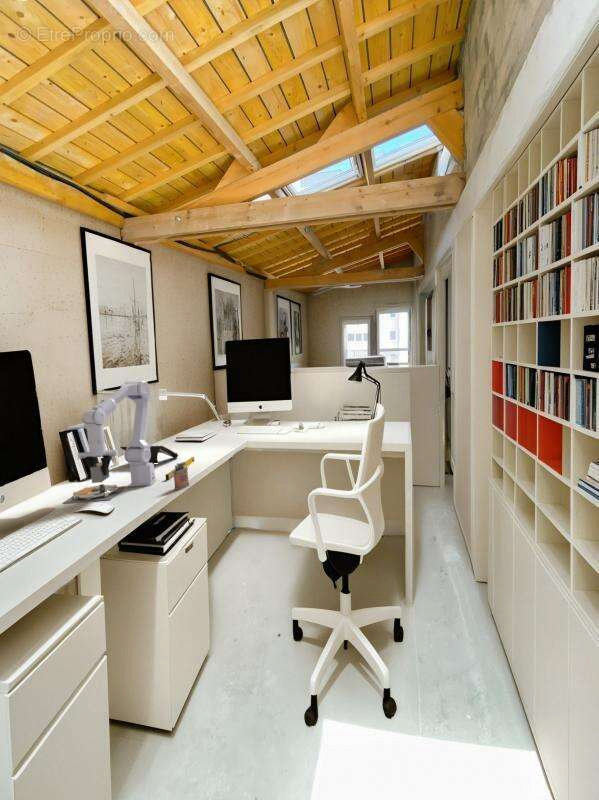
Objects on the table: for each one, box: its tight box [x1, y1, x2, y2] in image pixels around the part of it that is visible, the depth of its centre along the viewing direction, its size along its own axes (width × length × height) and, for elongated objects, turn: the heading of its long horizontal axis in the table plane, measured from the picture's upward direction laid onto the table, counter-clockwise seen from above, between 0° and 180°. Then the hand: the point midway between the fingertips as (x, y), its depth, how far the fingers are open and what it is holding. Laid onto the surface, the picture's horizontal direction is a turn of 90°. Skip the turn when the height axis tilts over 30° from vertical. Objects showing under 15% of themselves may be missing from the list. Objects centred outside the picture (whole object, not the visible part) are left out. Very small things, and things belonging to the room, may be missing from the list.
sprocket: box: [72, 483, 118, 500], centre depth 183 cm, size 17×17×4 cm
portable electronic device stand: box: [119, 445, 179, 465], centre depth 236 cm, size 23×23×9 cm
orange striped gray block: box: [89, 462, 110, 484], centre depth 176 cm, size 4×8×6 cm, turn 2°
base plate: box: [62, 485, 128, 505], centre depth 184 cm, size 18×18×1 cm
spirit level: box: [165, 456, 195, 481], centre depth 215 cm, size 33×1×3 cm, turn 174°
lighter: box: [173, 461, 190, 491], centre depth 186 cm, size 8×3×10 cm, turn 160°
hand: (100, 475), depth 176 cm, fingers closed on orange striped gray block, 3 cm apart
